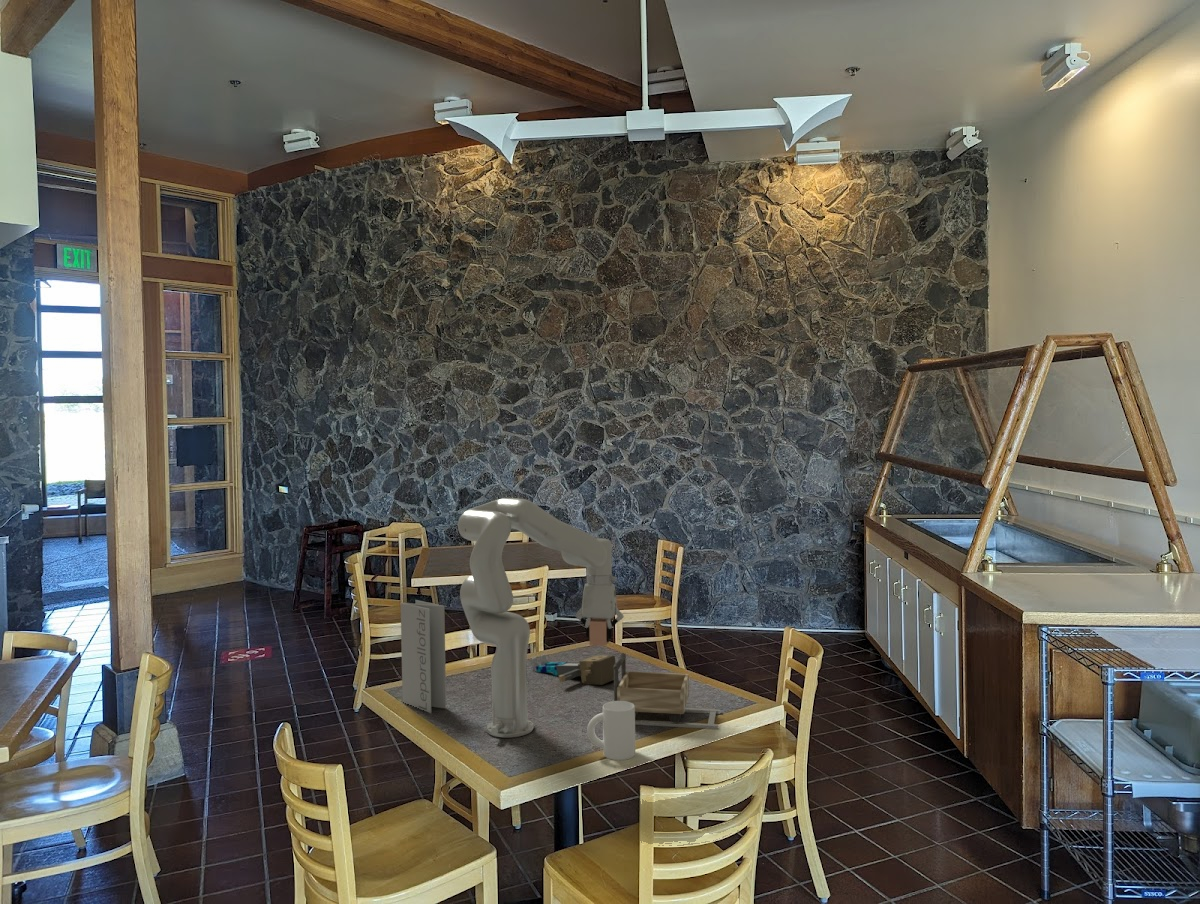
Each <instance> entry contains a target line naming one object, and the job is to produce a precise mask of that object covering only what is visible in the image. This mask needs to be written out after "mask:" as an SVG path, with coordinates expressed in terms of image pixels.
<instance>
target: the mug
mask: <svg viewBox="0 0 1200 904" xmlns="http://www.w3.org/2000/svg"><path fill="white" fill-rule="evenodd" d="M635 720H636V717H635V706H634V704H633V703H630V702H627V701H614V700H611V701H608V702H607V701H606V702H605V703H604V704H603V705H602V712H600V713H598V714H596V715H594V716H593V717H592V718H591V719H590V720H589V722H588V724H587V726H586V727H587V728H586V735H587V737H588V739H589V741H590V742H591V743H592V744H593V746H596V747H597V748H600V749H602V751H603V753H602V754H603V756H604V757H605V758H606V759H609V760H612V761H613V760H614V761H624V760H625V761H626V760H629V759H632V758H634V757H635V756H636V725H635ZM601 721H602V739H600V738H599V737H598V735H596V732H595V730H596V729H595V728H596V727H597V725H598V723H601Z"/></svg>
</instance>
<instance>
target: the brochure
mask: <svg viewBox="0 0 1200 904" xmlns="http://www.w3.org/2000/svg"><path fill="white" fill-rule="evenodd" d="M445 621H446V620H445V605H441V604H436V603H432V602H426V601H423V600H420V599H419V600H418V599H415V603H412V602H411V603H410V602H400V629H401V630H400V638H401V639H400V640H401V642H400V644H401V646H400V647H401V681H402V682H401V683H402V684H401V685H402V687H401V688H402V693H401V695H402V703H403V702H404V703H403V704H405V703H406V704H405V705H407V704H409V705H408V706H410V705H412V706H411V707H413V706H414V707H413V708H415V707H417V708H416V709H418V708H419V709H418V710H421V711H423V710H424V712H427V713H429V714H432V708H439V709H447V678H446V677H447V676H446V675H447V673H446V631H445V629H446V626H445V625H446V624H445V623H446V622H445Z"/></svg>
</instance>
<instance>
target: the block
mask: <svg viewBox="0 0 1200 904" xmlns="http://www.w3.org/2000/svg"><path fill="white" fill-rule="evenodd" d="M607 626H608V625H607V621H606V619H600V618H592V619H591V621H589V635H590V641H589V646H603V647H604V646H607V645H608V644H609V642H610V641H609V642H607Z"/></svg>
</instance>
